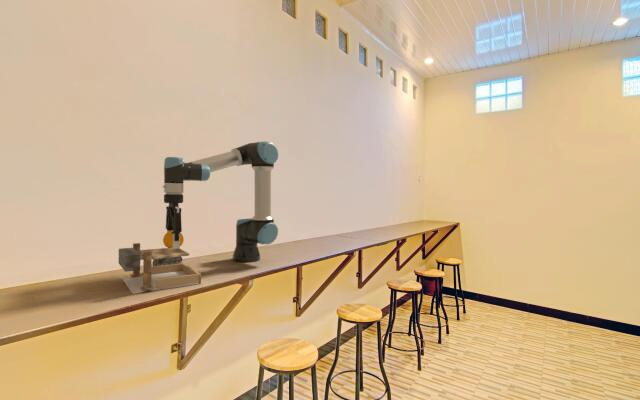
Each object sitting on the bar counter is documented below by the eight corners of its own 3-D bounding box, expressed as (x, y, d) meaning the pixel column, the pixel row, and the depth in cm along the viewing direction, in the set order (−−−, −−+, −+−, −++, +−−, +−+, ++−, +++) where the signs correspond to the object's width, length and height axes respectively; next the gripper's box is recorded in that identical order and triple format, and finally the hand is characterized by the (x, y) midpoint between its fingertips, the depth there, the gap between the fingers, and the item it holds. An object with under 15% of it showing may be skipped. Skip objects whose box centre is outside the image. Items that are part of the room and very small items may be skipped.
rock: (152, 273, 152) (157, 251, 153) (144, 269, 157) (148, 248, 158) (184, 273, 164) (188, 252, 165) (175, 269, 170) (179, 250, 171)
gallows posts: (140, 276, 147) (140, 242, 147) (154, 291, 127) (154, 252, 127) (130, 277, 145) (130, 243, 144) (142, 293, 125) (142, 253, 124)
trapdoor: (176, 257, 153) (176, 243, 153) (189, 264, 138) (189, 250, 138) (118, 262, 139) (118, 248, 139) (125, 272, 124) (125, 256, 124)
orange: (166, 250, 138) (166, 231, 137) (160, 247, 144) (161, 229, 143) (186, 248, 143) (186, 230, 142) (180, 245, 149) (180, 228, 148)
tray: (183, 271, 158) (183, 263, 158) (200, 283, 139) (201, 274, 139) (122, 279, 142) (122, 270, 142) (132, 293, 123) (132, 283, 123)
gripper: (158, 193, 148) (157, 244, 149) (170, 194, 132) (170, 251, 133) (176, 193, 153) (175, 242, 153) (190, 194, 137) (189, 250, 137)
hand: (173, 247), depth 143 cm, fingers closed on orange, 8 cm apart
